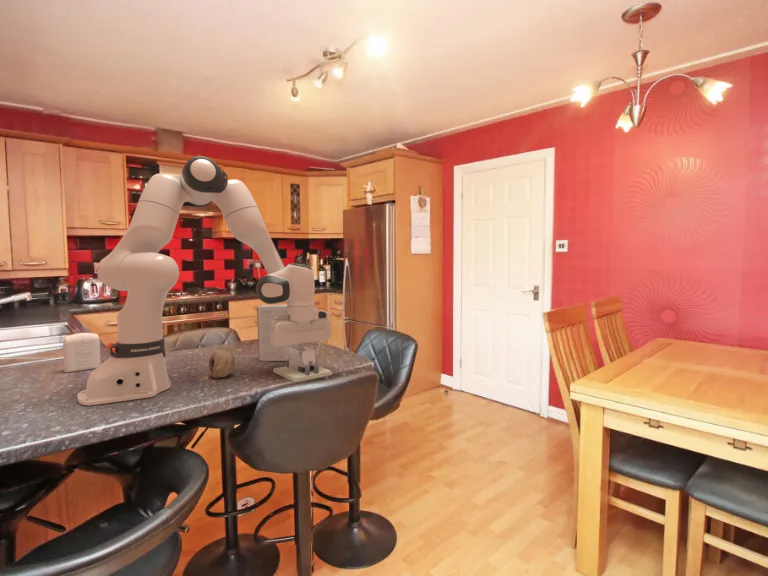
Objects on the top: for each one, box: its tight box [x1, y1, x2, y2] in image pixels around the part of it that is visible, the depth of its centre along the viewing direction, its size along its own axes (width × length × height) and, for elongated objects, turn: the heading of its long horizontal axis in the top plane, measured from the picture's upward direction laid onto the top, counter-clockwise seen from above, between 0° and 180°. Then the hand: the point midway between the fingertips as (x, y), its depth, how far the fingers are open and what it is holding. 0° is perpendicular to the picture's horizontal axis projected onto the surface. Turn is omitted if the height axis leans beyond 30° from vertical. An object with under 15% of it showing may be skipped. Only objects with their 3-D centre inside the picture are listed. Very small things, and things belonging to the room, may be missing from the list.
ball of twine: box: [208, 346, 236, 379], centre depth 137 cm, size 9×8×10 cm
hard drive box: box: [256, 304, 305, 362], centre depth 159 cm, size 16×8×20 cm, turn 84°
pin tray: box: [272, 359, 333, 383], centre depth 139 cm, size 13×15×4 cm
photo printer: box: [62, 332, 102, 373], centre depth 145 cm, size 10×4×12 cm, turn 135°
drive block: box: [289, 345, 316, 374], centre depth 139 cm, size 5×9×7 cm, turn 40°
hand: (301, 356), depth 139 cm, fingers open, 8 cm apart
